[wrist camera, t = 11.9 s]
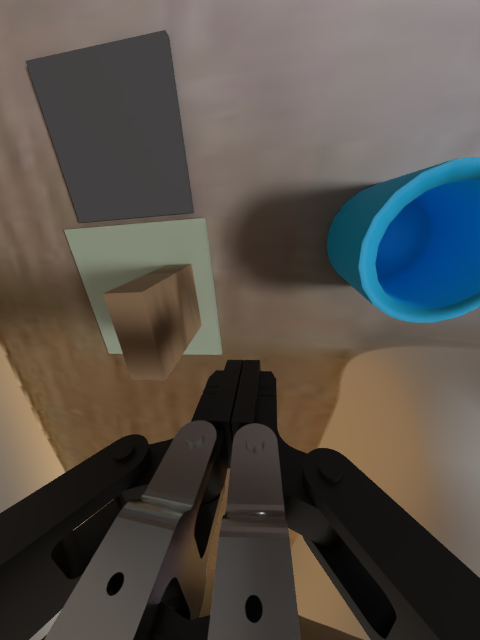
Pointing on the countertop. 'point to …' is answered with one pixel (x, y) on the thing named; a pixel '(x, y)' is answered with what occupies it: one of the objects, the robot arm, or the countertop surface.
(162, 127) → the coaster
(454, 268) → the mug
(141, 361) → the slab
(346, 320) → the countertop surface
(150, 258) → the board
